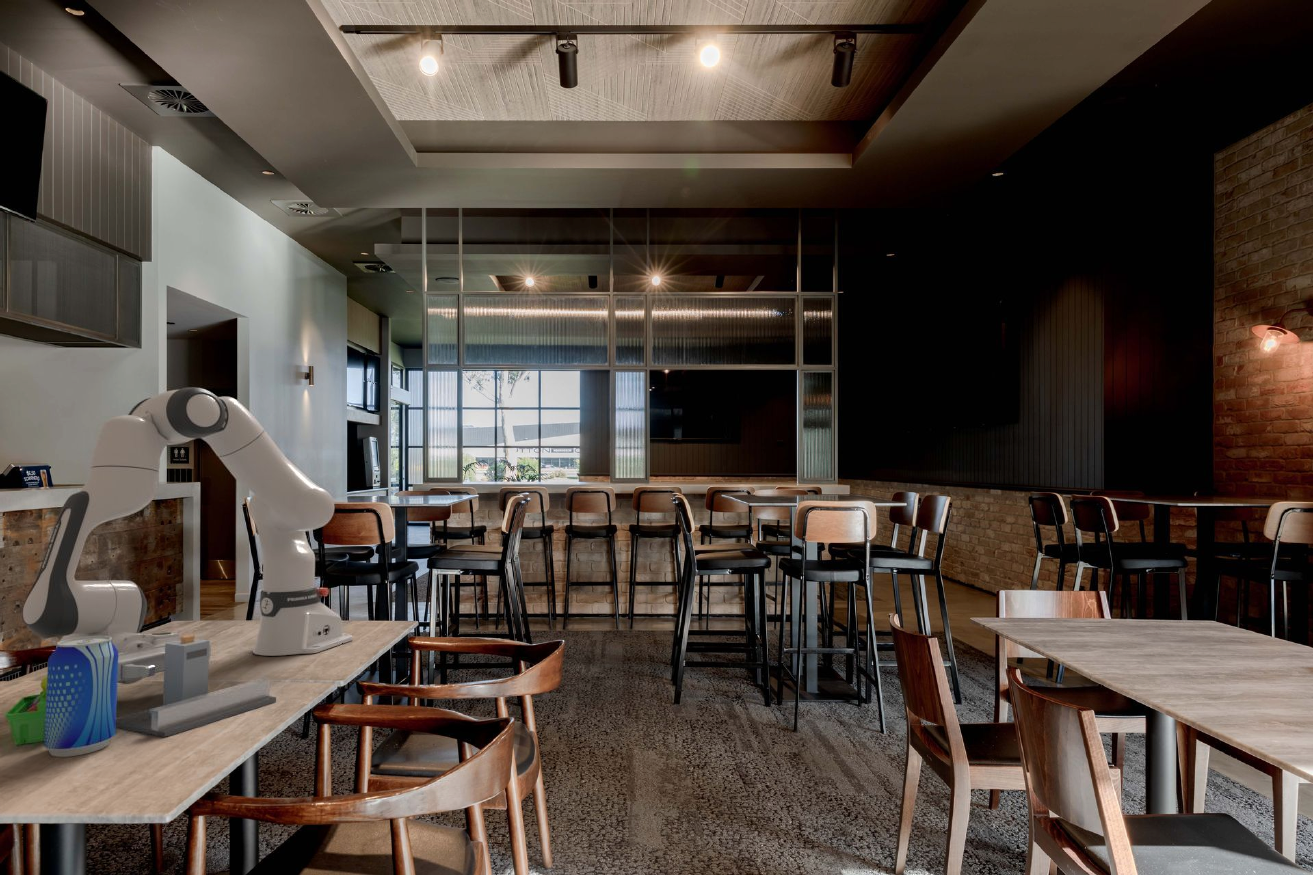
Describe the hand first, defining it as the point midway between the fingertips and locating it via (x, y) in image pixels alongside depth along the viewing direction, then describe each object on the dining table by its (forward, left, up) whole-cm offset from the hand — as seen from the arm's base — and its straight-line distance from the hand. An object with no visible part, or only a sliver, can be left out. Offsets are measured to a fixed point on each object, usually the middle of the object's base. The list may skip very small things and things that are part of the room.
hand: (178, 665), depth 129 cm
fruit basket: (+16, -7, -8) cm, 19 cm away
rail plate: (0, +5, -8) cm, 9 cm away
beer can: (+18, +5, -8) cm, 20 cm away
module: (0, +2, -7) cm, 7 cm away
